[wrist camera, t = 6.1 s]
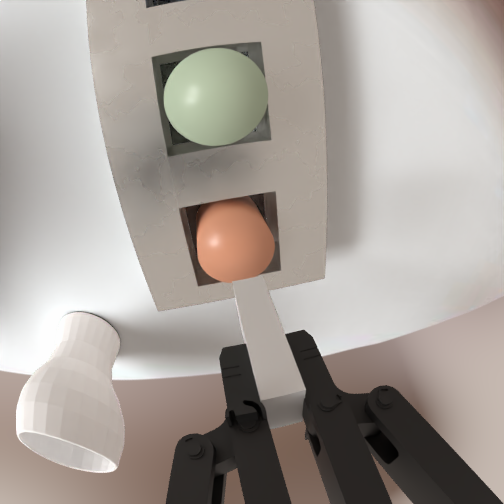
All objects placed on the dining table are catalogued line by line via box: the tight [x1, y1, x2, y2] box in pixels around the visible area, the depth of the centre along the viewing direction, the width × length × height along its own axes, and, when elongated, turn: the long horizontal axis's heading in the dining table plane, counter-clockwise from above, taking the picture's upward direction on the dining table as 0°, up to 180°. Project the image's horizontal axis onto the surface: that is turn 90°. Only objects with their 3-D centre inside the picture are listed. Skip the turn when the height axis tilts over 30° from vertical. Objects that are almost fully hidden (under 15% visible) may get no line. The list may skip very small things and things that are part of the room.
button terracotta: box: [196, 196, 275, 283], centre depth 21 cm, size 5×5×5 cm
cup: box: [16, 312, 125, 473], centre depth 22 cm, size 11×11×15 cm
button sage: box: [164, 48, 268, 146], centre depth 15 cm, size 5×5×5 cm
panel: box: [86, 0, 327, 311], centre depth 17 cm, size 14×30×4 cm, turn 6°
